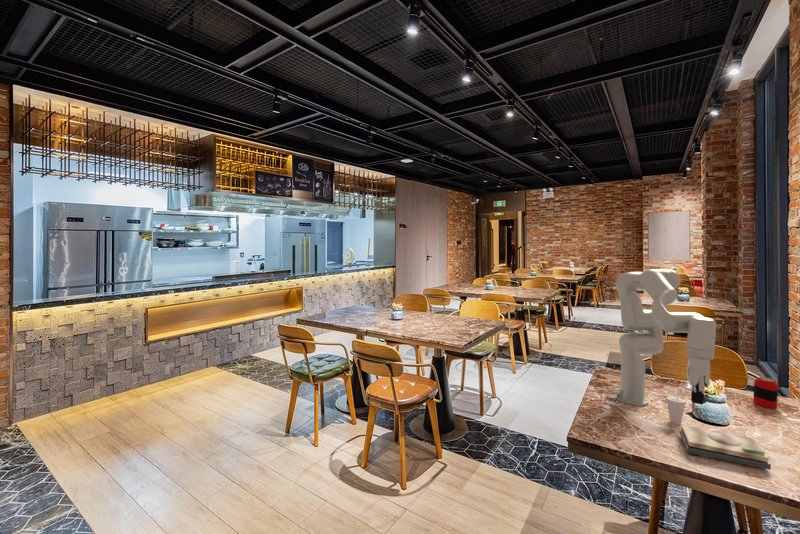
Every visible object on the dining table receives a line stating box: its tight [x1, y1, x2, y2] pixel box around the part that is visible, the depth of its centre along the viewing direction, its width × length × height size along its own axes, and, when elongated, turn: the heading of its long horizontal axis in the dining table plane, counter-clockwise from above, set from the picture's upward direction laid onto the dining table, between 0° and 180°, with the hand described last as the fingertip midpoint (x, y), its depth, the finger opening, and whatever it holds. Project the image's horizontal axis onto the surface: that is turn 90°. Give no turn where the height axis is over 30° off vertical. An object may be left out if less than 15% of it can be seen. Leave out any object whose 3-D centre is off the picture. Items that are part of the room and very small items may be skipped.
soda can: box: [752, 376, 779, 410], centre depth 166 cm, size 8×8×12 cm
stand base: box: [678, 428, 772, 471], centre depth 128 cm, size 21×15×3 cm
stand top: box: [681, 424, 769, 462], centre depth 128 cm, size 20×14×2 cm
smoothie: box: [665, 388, 687, 426], centre depth 150 cm, size 6×6×14 cm
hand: (697, 402), depth 131 cm, fingers closed
